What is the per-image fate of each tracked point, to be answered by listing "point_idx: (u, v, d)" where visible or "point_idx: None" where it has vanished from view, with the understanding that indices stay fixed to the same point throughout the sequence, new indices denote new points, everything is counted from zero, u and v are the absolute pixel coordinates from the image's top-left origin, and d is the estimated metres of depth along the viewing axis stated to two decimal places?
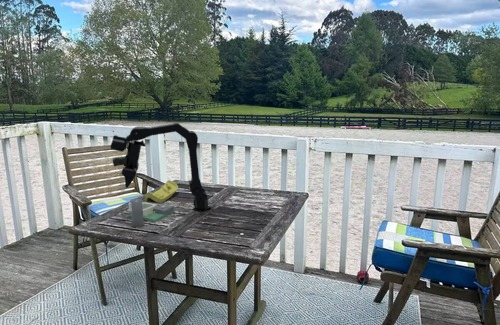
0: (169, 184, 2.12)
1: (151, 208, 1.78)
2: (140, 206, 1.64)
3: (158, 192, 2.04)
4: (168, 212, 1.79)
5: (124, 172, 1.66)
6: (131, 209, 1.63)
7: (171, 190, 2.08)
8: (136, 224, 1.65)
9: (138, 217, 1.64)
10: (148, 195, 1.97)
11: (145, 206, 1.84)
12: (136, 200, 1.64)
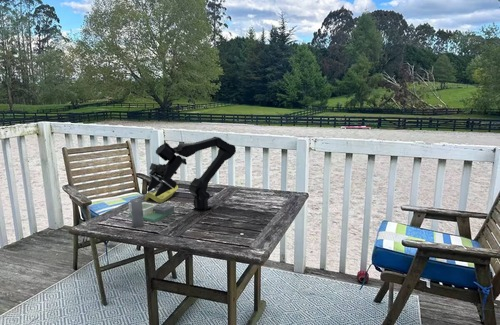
0: None
1: (151, 208, 1.78)
2: (140, 206, 1.64)
3: None
4: (168, 212, 1.79)
5: (168, 181, 1.63)
6: (131, 209, 1.63)
7: (171, 190, 2.08)
8: (136, 224, 1.65)
9: (138, 217, 1.64)
10: (148, 195, 1.97)
11: (145, 206, 1.84)
12: (136, 200, 1.64)
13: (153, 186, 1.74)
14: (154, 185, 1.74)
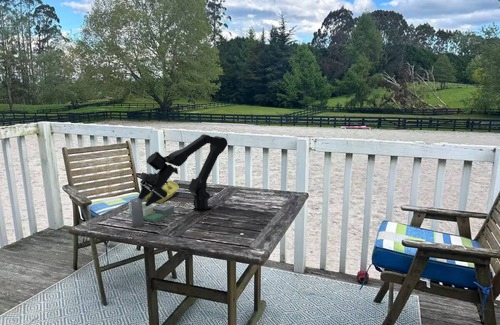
0: (170, 184, 2.12)
1: (151, 208, 1.78)
2: (140, 206, 1.64)
3: None
4: (168, 212, 1.79)
5: (158, 191, 1.61)
6: (131, 209, 1.63)
7: (172, 190, 2.08)
8: (136, 224, 1.65)
9: (138, 217, 1.64)
10: (148, 195, 1.97)
11: (145, 206, 1.84)
12: (136, 200, 1.64)
13: (144, 195, 1.72)
14: (145, 194, 1.72)
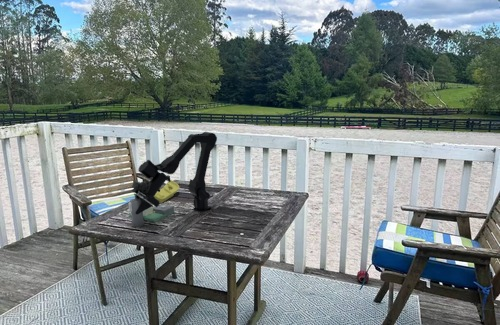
0: (171, 184, 2.12)
1: (151, 208, 1.78)
2: None
3: (159, 192, 2.04)
4: (168, 212, 1.79)
5: (150, 200, 1.59)
6: (131, 209, 1.63)
7: (172, 190, 2.08)
8: (136, 224, 1.65)
9: (138, 217, 1.64)
10: None
11: None
12: (136, 200, 1.64)
13: None
14: None
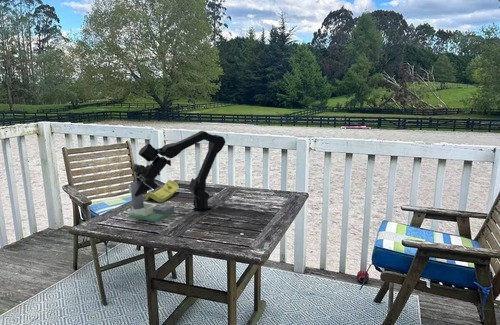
0: (170, 184, 2.13)
1: (151, 208, 1.78)
2: None
3: (159, 192, 2.05)
4: (168, 212, 1.79)
5: (147, 182, 1.61)
6: (131, 191, 1.67)
7: (172, 190, 2.08)
8: (136, 206, 1.68)
9: (137, 199, 1.67)
10: (149, 195, 1.98)
11: (145, 206, 1.84)
12: (136, 182, 1.67)
13: None
14: None
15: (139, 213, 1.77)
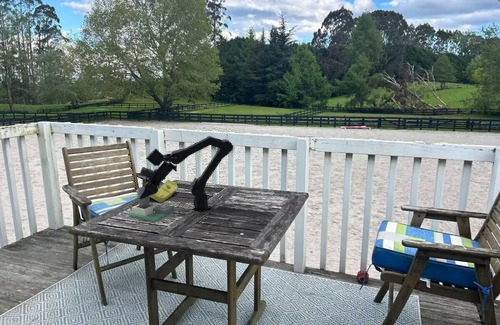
0: (168, 183, 2.13)
1: (151, 208, 1.78)
2: None
3: (158, 191, 2.05)
4: (168, 212, 1.79)
5: (148, 186, 1.69)
6: (137, 196, 1.78)
7: (171, 189, 2.09)
8: None
9: (143, 204, 1.77)
10: None
11: None
12: (143, 188, 1.78)
13: None
14: None
15: (139, 213, 1.77)
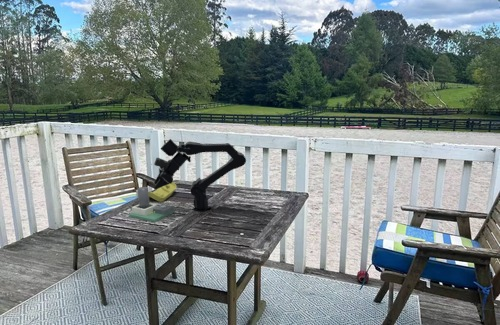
0: None
1: (151, 208, 1.78)
2: (145, 194, 1.77)
3: (157, 191, 2.05)
4: (168, 212, 1.79)
5: (163, 176, 1.70)
6: (137, 196, 1.77)
7: (170, 189, 2.10)
8: None
9: (142, 204, 1.77)
10: (149, 194, 1.98)
11: None
12: (142, 188, 1.77)
13: None
14: None
15: (139, 213, 1.77)
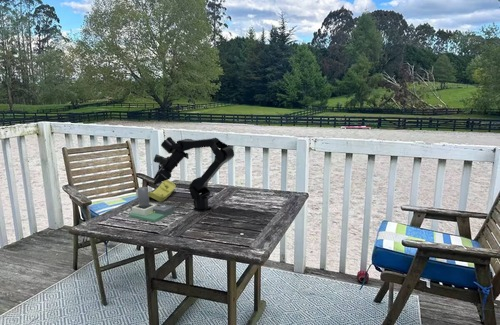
0: (166, 183, 2.14)
1: (151, 208, 1.78)
2: (145, 194, 1.77)
3: (157, 191, 2.06)
4: (168, 212, 1.79)
5: (162, 172, 1.78)
6: (137, 196, 1.78)
7: (169, 189, 2.10)
8: None
9: (142, 203, 1.77)
10: None
11: None
12: (142, 188, 1.78)
13: None
14: None
15: (139, 213, 1.77)
